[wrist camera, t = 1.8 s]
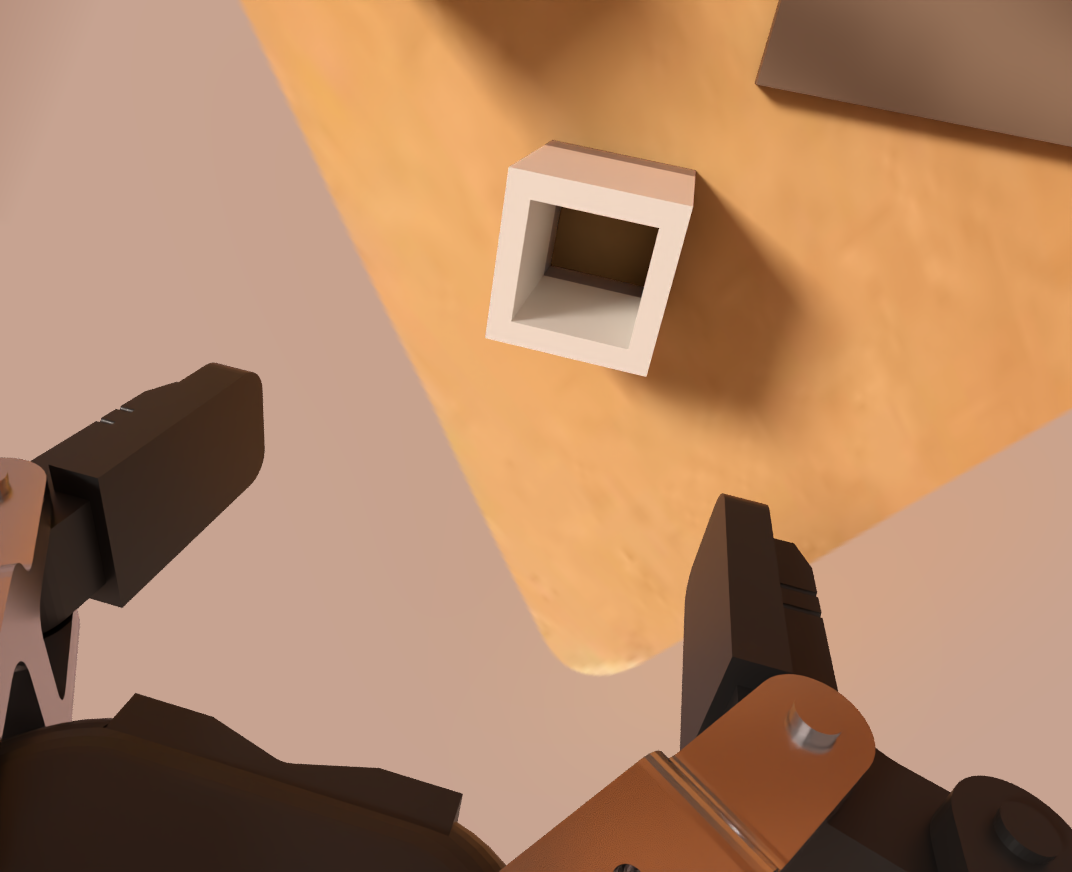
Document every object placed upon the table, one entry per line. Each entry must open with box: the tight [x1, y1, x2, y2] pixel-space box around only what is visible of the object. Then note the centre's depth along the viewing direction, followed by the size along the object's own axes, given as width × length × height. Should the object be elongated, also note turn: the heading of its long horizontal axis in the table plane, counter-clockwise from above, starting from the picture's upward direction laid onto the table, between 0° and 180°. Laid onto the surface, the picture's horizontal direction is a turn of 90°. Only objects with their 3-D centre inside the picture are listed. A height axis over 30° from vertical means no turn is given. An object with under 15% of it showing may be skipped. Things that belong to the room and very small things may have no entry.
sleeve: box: [485, 140, 696, 377], centre depth 25 cm, size 6×6×7 cm
